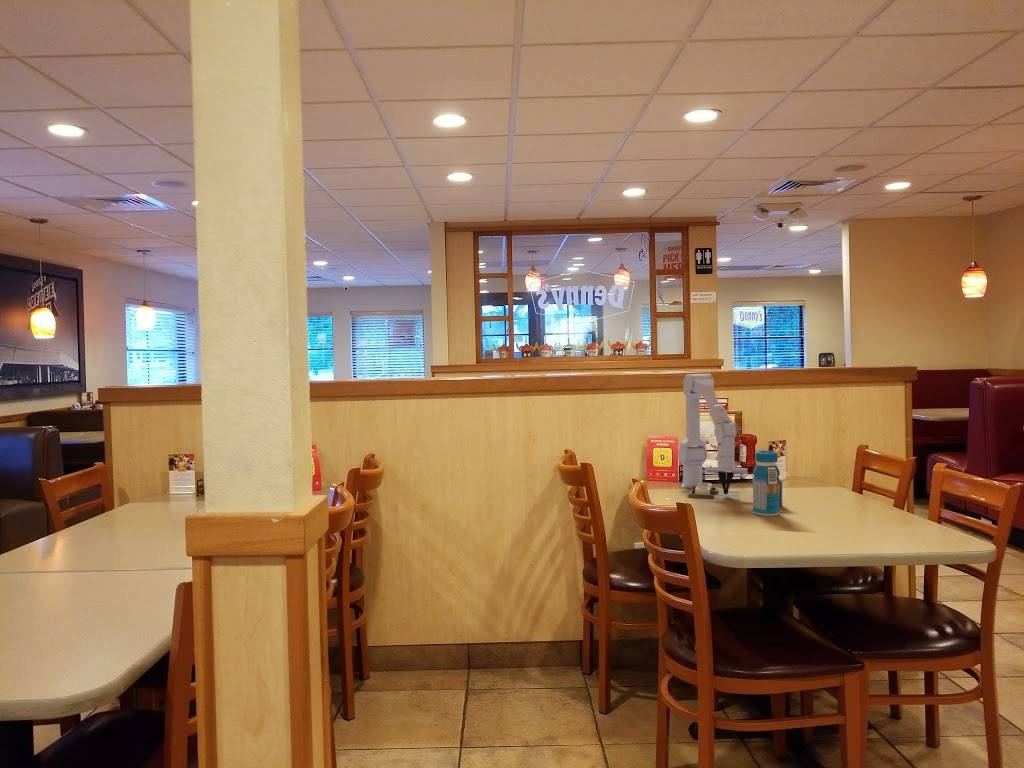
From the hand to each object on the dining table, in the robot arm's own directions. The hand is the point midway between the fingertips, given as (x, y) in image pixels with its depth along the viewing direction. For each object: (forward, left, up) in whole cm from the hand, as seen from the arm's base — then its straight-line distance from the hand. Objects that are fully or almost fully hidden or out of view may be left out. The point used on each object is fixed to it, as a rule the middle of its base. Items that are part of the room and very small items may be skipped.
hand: (725, 493), depth 271 cm
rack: (-4, -5, -2) cm, 6 cm away
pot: (0, -8, -1) cm, 8 cm away
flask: (+12, +14, -2) cm, 19 cm away
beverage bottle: (+24, +13, -2) cm, 28 cm away
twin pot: (-8, -8, -1) cm, 11 cm away
